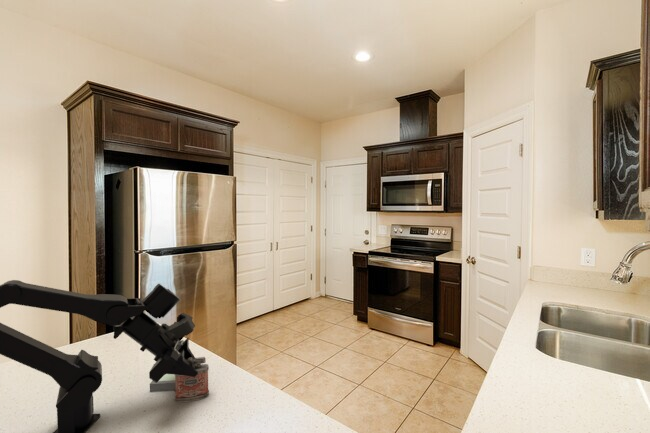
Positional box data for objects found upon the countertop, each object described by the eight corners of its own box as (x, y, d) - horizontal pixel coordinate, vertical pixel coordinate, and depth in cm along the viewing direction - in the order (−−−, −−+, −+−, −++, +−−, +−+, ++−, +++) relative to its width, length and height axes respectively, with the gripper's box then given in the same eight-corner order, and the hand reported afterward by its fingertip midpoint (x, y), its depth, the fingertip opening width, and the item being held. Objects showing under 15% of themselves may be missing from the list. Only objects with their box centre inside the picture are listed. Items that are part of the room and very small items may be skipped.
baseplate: (189, 389, 81) (188, 381, 81) (149, 391, 80) (149, 383, 80) (200, 369, 91) (200, 362, 91) (166, 371, 90) (165, 364, 90)
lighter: (173, 403, 75) (172, 364, 75) (176, 395, 79) (175, 357, 78) (208, 398, 78) (207, 359, 77) (209, 390, 81) (209, 353, 80)
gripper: (164, 321, 67) (217, 364, 70) (180, 297, 85) (223, 331, 88) (124, 361, 65) (181, 403, 69) (150, 328, 83) (194, 362, 87)
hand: (197, 370), depth 78 cm, fingers closed on lighter, 3 cm apart
